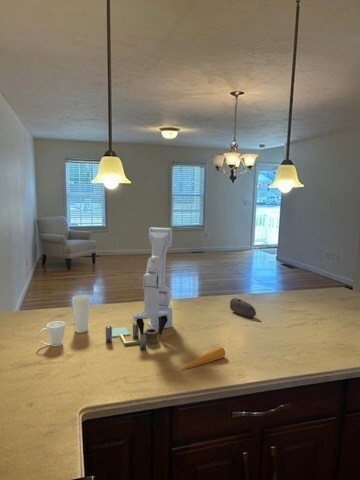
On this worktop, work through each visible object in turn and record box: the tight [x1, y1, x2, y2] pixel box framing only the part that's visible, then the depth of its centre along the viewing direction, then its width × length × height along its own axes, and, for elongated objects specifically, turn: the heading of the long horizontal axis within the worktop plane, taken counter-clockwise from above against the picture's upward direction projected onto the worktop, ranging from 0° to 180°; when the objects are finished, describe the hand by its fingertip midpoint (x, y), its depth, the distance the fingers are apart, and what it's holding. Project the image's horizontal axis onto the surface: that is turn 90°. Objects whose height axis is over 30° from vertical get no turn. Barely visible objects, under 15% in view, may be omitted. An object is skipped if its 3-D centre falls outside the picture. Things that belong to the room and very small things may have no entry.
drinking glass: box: [71, 294, 90, 334], centre depth 152 cm, size 7×7×15 cm
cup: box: [38, 320, 66, 347], centre depth 139 cm, size 7×10×8 cm
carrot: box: [179, 345, 226, 371], centre depth 127 cm, size 20×4×4 cm, turn 125°
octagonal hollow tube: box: [144, 327, 159, 345], centre depth 143 cm, size 5×5×4 cm
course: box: [105, 322, 147, 351], centre depth 140 cm, size 14×15×6 cm
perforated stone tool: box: [229, 297, 257, 318], centre depth 176 cm, size 15×5×7 cm, turn 38°
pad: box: [112, 326, 131, 339], centre depth 152 cm, size 8×8×1 cm
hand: (151, 335), depth 143 cm, fingers open, 7 cm apart
